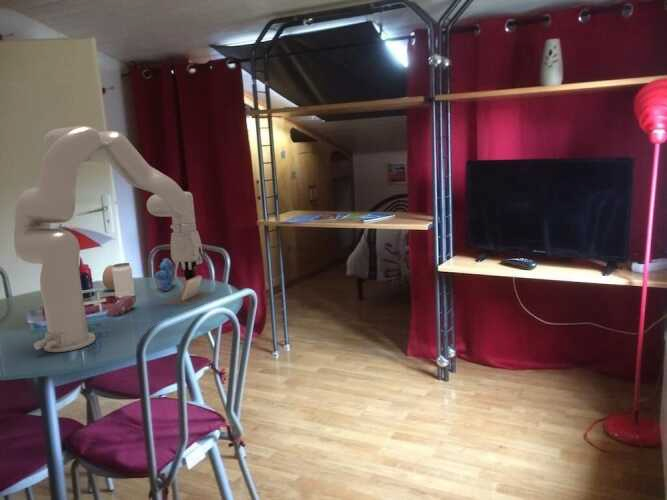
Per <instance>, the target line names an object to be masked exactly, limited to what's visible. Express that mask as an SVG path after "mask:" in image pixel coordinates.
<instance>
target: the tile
mask: <svg viewBox="0 0 667 500" xmlns="http://www.w3.org/2000/svg"><path fill="white" fill-rule="evenodd" d="M202 279H203V277H202V276H201V275H199V274H198V275H195V277H193V278H191V279H189V280H187V281H186V280H185V282H184V286H183V289H182V292H181V293H182V295H181V298H180V299H181V300H183V301H184V300H186V299H188V298H190V297H192V296H194V295H196V294H197V292H198V291H199V289H200V284H201V281H202Z"/></svg>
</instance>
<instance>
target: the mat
mask: <svg viewBox="0 0 667 500" xmlns="http://www.w3.org/2000/svg"><path fill="white" fill-rule="evenodd" d="M214 293H215V291H199V290H198V292H197V294H196V295H194V296H192V297H190V298H188V299H186V300H184V301H183V300H181V299H180V298H181V295H182V292H181V293H178V294H177V295H174V296H172V297H170V298H168V299H166V300H164V301H162V302H159V303H158V304H159V305H171V306H172V305H173V306H174V305H175V306H176V305H178V306H191V305H193V304H195V303H196V302H199V301H200V300H203V299H204V298H206V297H208V296H211V295H212V294H214Z"/></svg>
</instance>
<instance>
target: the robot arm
mask: <svg viewBox="0 0 667 500" xmlns="http://www.w3.org/2000/svg"><path fill="white" fill-rule="evenodd" d="M43 147H44V149H45V151H46V153H45V154H44V157H43V159H42V162H41V165H40V166H41V167H40V173H39V182H38V187H32V188H28V189H25V191H23V192H22V193H21V194H20V195H19V197H18V199H17V201H16V205H15V211H14V212H15V213H14V228H13V229H14V232H13V244H14V250H15V253H16V255H17V257H18V258H19V259H20V260H22V261H24V262H26V263H30V264H38V265H40V264H41V265H42V266H41V270H40V274H39V275H40V276H39V286H40V292H41V297H42V299H41V300H42V303H43V309H44V316H45V322H46V328H47V332H46V333H44V338H42V339H41V340H38V341H36V342H34V343H33V348H34V349H35V350H41V349H43V350H44V351H46V352H49V353H61V352H62V353H64V352H69V351H74V350H78V349H81V348H85V347H87V346H89V345H91V344H93V343H94V342H95V341H96V335H95V334H94V333H92V332H89V329H88V328H89V327H88V322H87V314H86V309H85V303H84V301H85V300H84V294H83V290H82V289H83V288H82V281H81V274H80V254H81V253H80V252H81V249H80V247H81V246H80V243H79V240H78V239H77V237H76V236H75V234H73V233H72V232H71V231H68V230H66V229H62V228H51V224H63V223H64V224H65V223H67V222H69V221H70V220H72V219H73V217H74V215H75V210H76V196H77V195H76V194H77V180H78V179H77V177H78V171H79V169H80V167H81V165H82V164H83V163H84V162H107V163H108V164H109V166H112V168H113V169H114V170H115V171H116V172H117V173H118V174H119V175H120V176H121V178H122V179H123V180H124V182H125V183H127V184H129V185H131V186H133V187H135V188H137V189H141V190H144V191H146V192H149V193H151V194H152V195H151V196H150V197H149V198H147V199H148V200H146V201H147V202H146V208H147V209H146V210H147V211H148V213H149V214H151V215H153V216H155V217H165V218H166V217H171V219H172V220H171V221H172V224H171V225H170V229H171V230H172V231H173V232H172V233H170V234H171V235H170V256H171V257H170V258H171V260H172V261H173V262H174V264H177V265H180V267H181V268H182V270H183V271H184V277H185V282H186V281H187V280H189V279H191V278H193V277H196V275H195V274H196V272H195V269H196V266H198V265H200V264H203V262H204V261H203V257H204V255H203V254H204V253H203V246H202V241H201V237H200V234H199V231H198V230H197V225H196V216H195V206H194V196H193V194H192V192H190V191H184V190H183V189H182V188H181V187H180V185H179V184H178V183H177V182H176V181H175V180H174V179H172V178H171V177H169V176H168V175H166V174H164V173H162V172H161V171H159V170H158V169H156V168H155V167H153V166H151V165H150V164H149V163H148V162H147V161H146V160H145V158H144V157H143V155H141V154H140V152H138V150H137V149H136V148H135V147H134V145H133V144H132V143H131V142H130V141H129V140H128V138H127V137H126V136H125V135H124V134H122V133H121V132H120V131H116V130H107V131H106V130H105V131H98V130H97V129H96V128H93V127H91V126H87V125H76V126H75V125H74V126H69V127H61V128H55V129H51V130H50V131H48V132H47V133H46V134H45V136H44V138H43Z"/></svg>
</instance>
